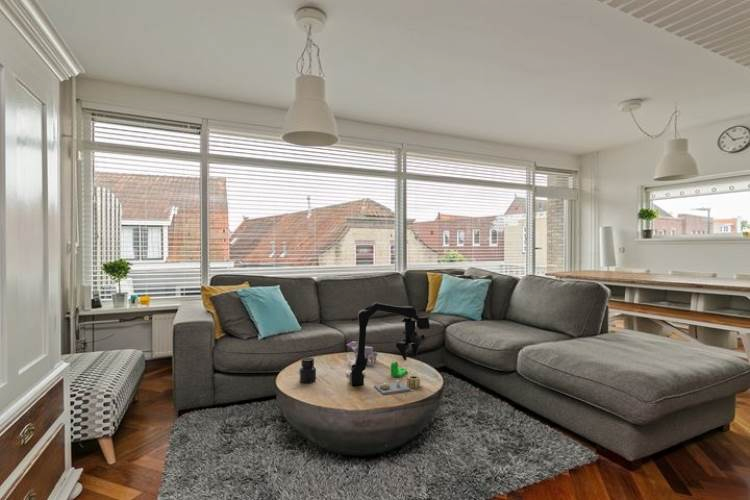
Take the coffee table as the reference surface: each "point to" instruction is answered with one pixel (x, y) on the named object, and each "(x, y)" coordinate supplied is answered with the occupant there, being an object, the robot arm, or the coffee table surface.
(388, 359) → the coffee table surface
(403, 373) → the mechanical part
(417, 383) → the gear
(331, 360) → the coffee table surface
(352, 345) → the toy sheep
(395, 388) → the carrier board
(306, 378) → the ink bottle
